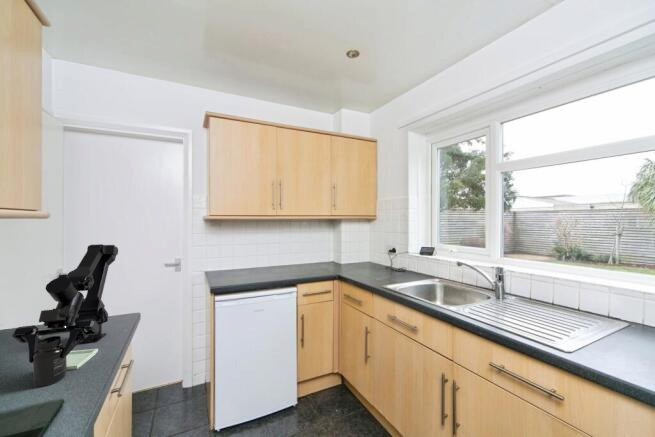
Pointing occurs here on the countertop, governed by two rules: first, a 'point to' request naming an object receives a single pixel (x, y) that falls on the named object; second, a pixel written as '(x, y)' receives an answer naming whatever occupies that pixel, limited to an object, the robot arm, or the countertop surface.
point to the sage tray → (79, 358)
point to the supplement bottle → (49, 362)
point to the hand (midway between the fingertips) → (47, 360)
